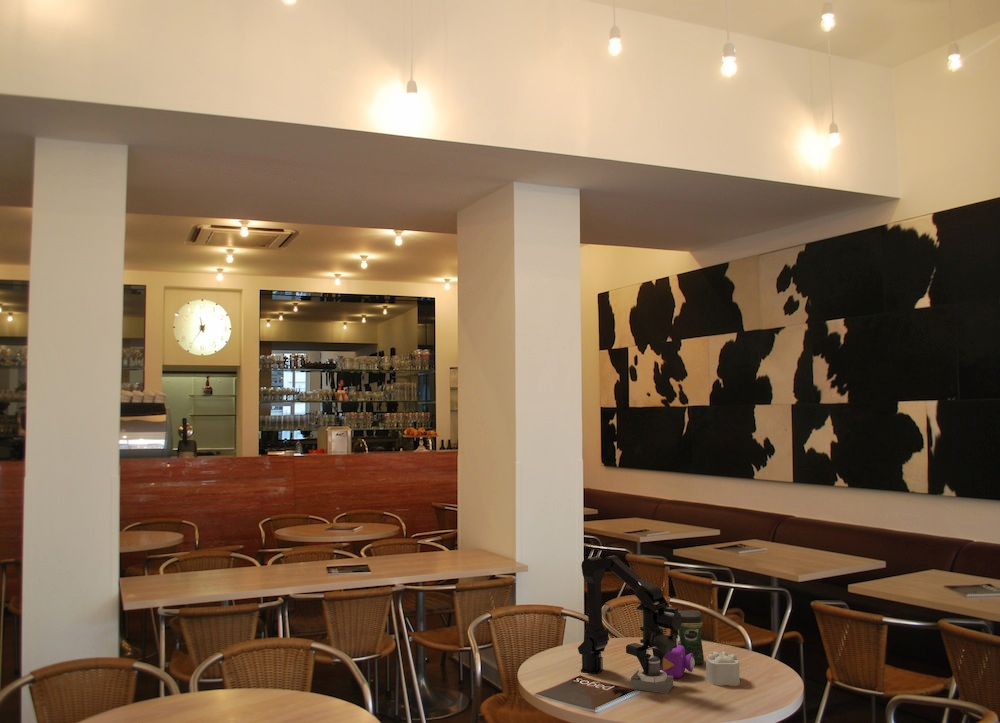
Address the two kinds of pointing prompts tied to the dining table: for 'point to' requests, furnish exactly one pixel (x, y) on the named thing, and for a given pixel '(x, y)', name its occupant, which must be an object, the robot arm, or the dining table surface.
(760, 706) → the dining table surface
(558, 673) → the dining table surface
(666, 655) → the toy camera
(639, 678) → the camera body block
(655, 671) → the lens
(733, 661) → the lumpy-topped squat cylinder
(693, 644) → the coffee jar
